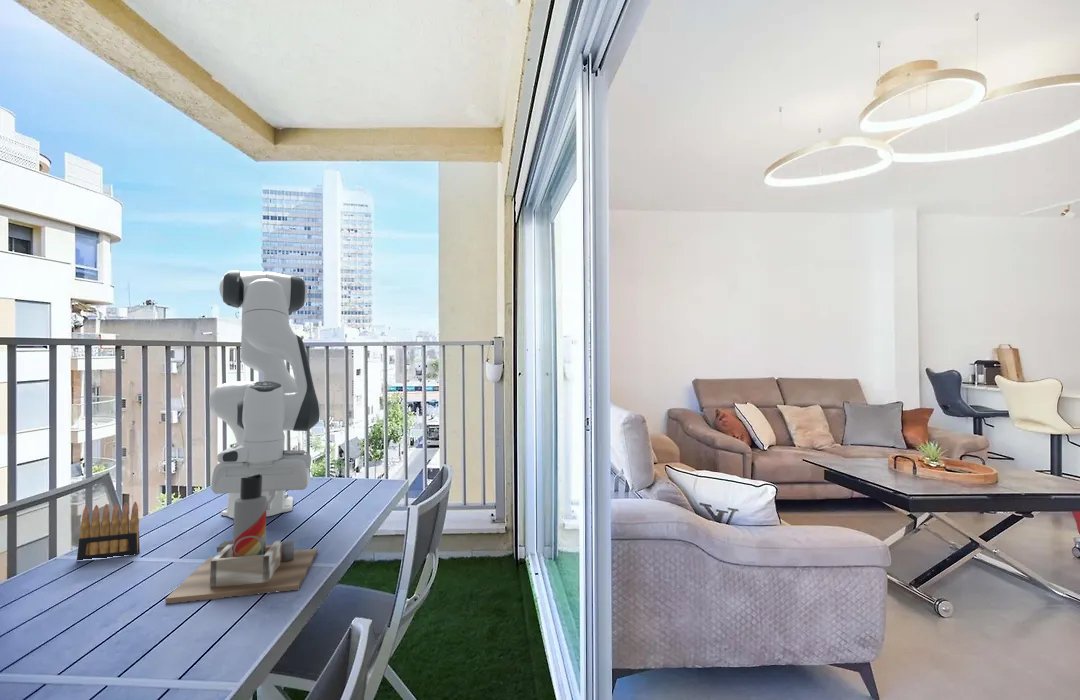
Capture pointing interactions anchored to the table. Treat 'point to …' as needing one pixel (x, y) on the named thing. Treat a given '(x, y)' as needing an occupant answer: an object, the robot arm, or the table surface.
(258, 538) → the lotion bottle
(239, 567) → the cradle
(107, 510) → the ammunition clip
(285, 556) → the arm
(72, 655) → the table surface
